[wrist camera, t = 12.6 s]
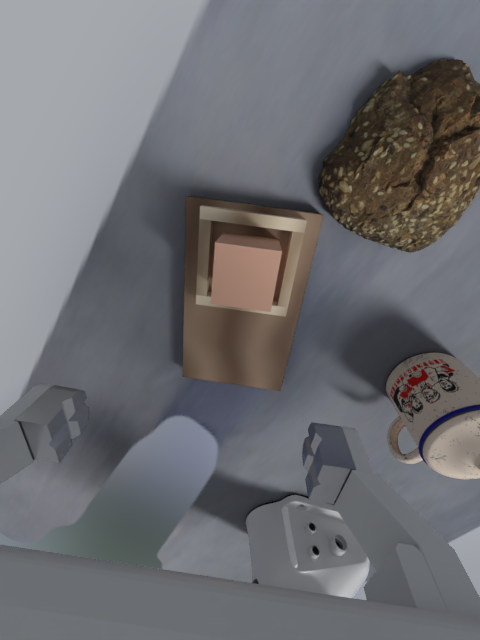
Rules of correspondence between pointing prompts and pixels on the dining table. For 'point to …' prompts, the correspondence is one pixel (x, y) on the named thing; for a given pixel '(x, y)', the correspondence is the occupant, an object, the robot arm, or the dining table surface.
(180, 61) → the dining table surface
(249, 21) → the dining table surface
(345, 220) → the bread roll
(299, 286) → the assembly board
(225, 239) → the terracotta cube
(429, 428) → the teacup with lid
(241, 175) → the dining table surface
